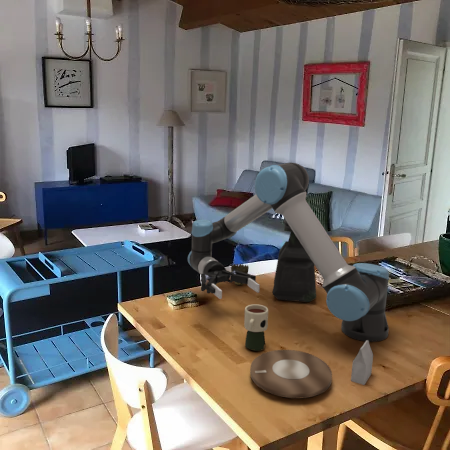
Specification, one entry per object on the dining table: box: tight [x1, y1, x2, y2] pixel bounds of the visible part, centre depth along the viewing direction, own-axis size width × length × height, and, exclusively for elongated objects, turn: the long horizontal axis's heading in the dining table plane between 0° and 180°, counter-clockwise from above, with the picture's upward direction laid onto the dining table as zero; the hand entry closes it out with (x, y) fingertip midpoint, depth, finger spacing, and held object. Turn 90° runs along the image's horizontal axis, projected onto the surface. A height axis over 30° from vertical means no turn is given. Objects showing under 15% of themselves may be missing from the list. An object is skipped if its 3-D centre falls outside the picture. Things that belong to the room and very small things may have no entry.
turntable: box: [249, 349, 333, 399], centre depth 133 cm, size 22×22×2 cm
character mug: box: [243, 303, 269, 352], centre depth 149 cm, size 11×7×13 cm, turn 158°
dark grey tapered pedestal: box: [272, 219, 317, 303], centre depth 189 cm, size 18×16×30 cm
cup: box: [230, 263, 249, 287], centre depth 202 cm, size 8×7×8 cm
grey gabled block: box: [350, 340, 374, 386], centre depth 135 cm, size 4×7×10 cm, turn 148°
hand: (240, 291), depth 156 cm, fingers open, 13 cm apart
